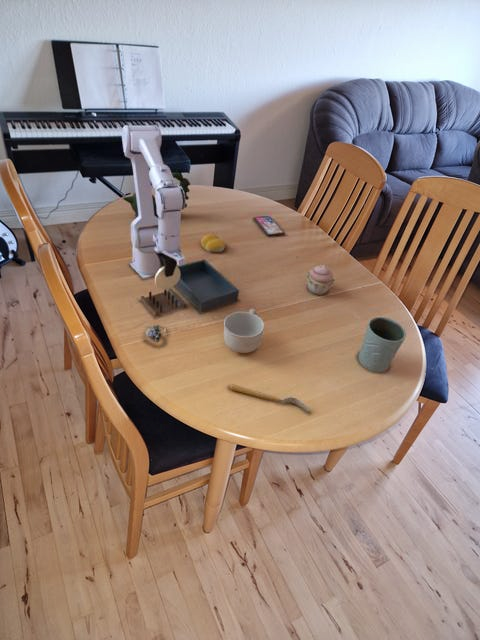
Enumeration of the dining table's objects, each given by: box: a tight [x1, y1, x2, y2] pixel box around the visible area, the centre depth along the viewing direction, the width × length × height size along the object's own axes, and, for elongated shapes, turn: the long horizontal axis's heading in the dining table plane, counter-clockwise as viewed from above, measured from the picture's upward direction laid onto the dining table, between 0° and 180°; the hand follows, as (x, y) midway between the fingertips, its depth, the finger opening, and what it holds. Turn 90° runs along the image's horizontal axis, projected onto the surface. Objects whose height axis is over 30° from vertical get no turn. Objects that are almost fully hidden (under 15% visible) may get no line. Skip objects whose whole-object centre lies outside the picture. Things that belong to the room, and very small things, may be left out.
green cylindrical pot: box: [358, 316, 407, 373], centre depth 119 cm, size 10×10×12 cm
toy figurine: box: [122, 171, 191, 219], centre depth 166 cm, size 9×19×25 cm
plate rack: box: [140, 288, 186, 317], centre depth 129 cm, size 9×10×3 cm
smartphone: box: [253, 215, 285, 237], centre depth 178 cm, size 8×1×15 cm
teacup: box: [223, 308, 265, 354], centre depth 120 cm, size 14×11×8 cm
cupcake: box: [306, 263, 336, 296], centre depth 144 cm, size 9×9×10 cm
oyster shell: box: [144, 324, 168, 343], centre depth 118 cm, size 7×8×2 cm
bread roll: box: [200, 233, 226, 253], centre depth 159 cm, size 8×9×4 cm
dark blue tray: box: [174, 258, 240, 313], centre depth 137 cm, size 20×14×4 cm
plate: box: [154, 265, 181, 291], centre depth 125 cm, size 1×8×8 cm, turn 126°
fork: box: [229, 384, 310, 413], centre depth 106 cm, size 2×2×20 cm
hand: (167, 274), depth 125 cm, fingers closed on plate, 1 cm apart
